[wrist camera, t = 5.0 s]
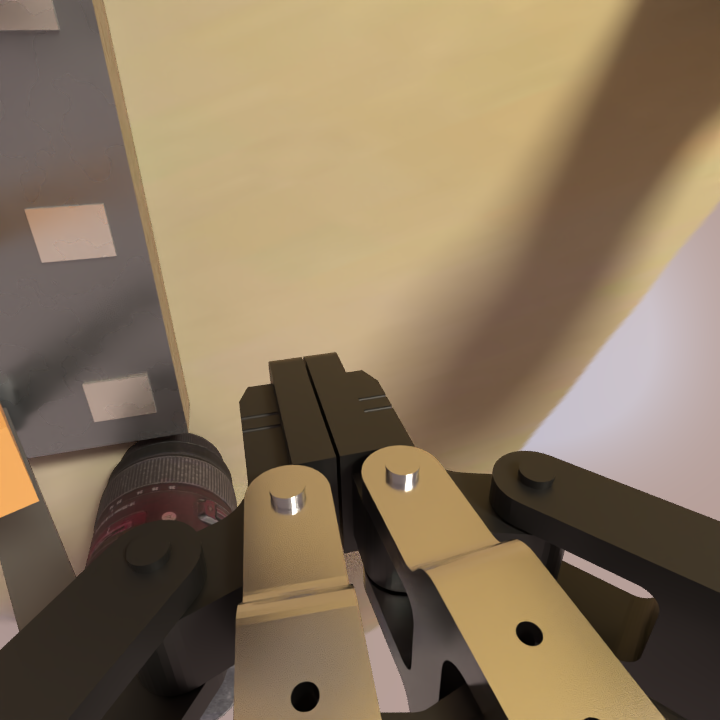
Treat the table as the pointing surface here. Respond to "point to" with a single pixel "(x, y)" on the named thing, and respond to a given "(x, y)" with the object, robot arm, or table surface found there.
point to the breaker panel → (77, 244)
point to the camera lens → (168, 504)
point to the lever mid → (13, 473)
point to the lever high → (32, 553)
